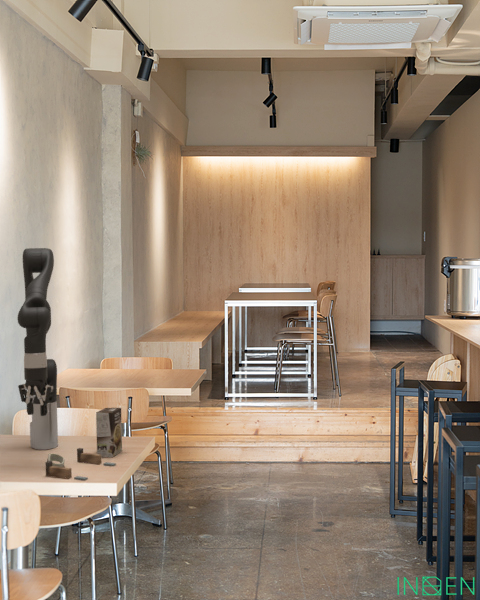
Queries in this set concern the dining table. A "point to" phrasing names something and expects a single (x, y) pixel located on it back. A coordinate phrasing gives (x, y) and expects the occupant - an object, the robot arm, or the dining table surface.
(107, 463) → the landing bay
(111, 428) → the coffee box
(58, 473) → the corridor
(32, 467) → the dining table surface
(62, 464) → the wristwatch
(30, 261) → the robot arm
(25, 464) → the dining table surface
